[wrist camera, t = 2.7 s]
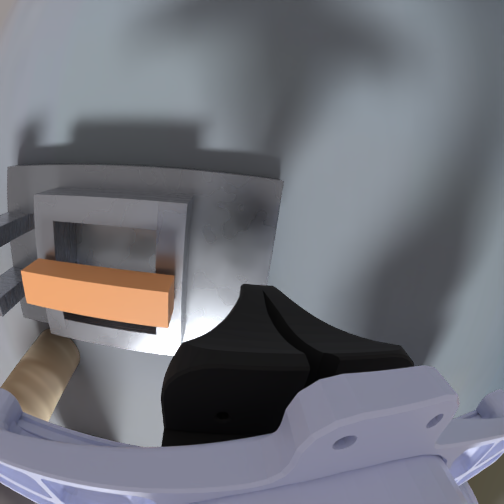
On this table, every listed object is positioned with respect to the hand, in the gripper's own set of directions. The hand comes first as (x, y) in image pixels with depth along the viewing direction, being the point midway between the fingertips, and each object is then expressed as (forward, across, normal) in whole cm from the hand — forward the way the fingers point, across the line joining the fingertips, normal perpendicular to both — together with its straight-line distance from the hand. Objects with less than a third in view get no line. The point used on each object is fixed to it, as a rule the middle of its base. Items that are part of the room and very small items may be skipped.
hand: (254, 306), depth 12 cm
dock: (+4, +7, 0) cm, 8 cm away
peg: (+4, +13, +8) cm, 16 cm away
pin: (+1, +7, 0) cm, 7 cm away
